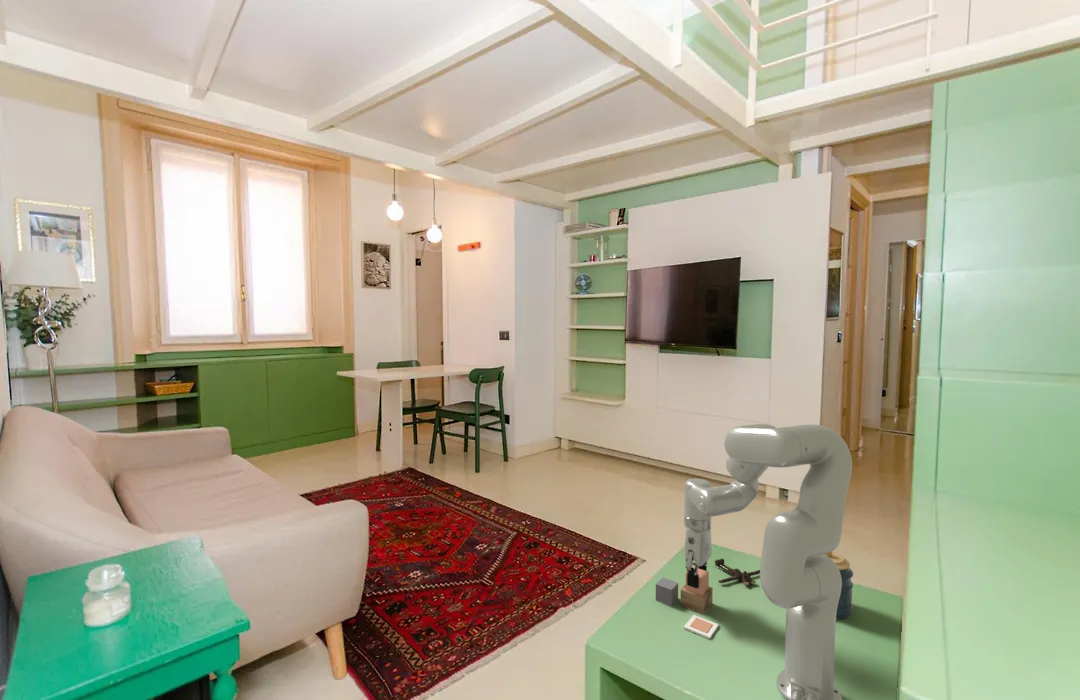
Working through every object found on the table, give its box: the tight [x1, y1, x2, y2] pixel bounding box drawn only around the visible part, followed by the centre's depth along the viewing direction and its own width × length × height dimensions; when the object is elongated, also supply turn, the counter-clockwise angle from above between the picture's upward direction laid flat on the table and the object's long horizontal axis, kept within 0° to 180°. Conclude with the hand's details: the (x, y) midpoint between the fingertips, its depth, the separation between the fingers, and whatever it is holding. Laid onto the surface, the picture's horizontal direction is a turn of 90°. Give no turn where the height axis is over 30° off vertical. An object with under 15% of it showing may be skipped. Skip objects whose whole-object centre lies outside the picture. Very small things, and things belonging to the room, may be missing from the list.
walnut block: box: [680, 583, 714, 615], centre depth 137 cm, size 7×7×5 cm
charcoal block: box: [655, 577, 679, 607], centre depth 140 cm, size 5×5×5 cm
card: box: [683, 614, 720, 640], centre depth 127 cm, size 7×7×1 cm
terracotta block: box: [685, 565, 710, 595], centre depth 137 cm, size 5×5×5 cm
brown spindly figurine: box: [714, 558, 760, 586], centre depth 154 cm, size 18×4×14 cm
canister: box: [824, 551, 854, 620], centre depth 136 cm, size 13×13×18 cm
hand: (696, 581), depth 137 cm, fingers open, 5 cm apart
